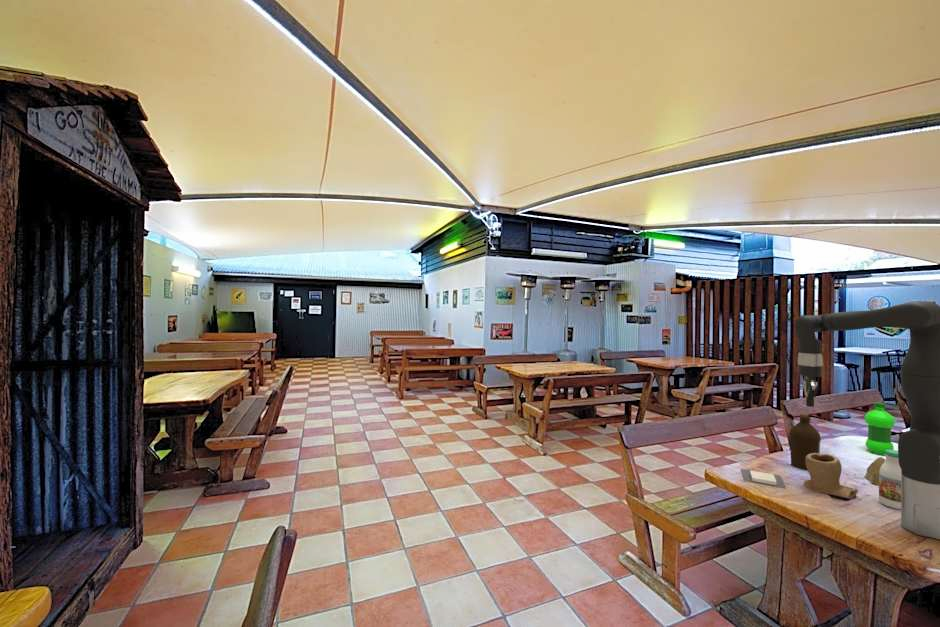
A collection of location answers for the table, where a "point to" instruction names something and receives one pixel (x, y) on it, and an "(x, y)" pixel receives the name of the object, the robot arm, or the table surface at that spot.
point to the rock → (874, 470)
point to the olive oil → (803, 441)
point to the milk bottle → (890, 480)
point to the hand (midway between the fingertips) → (809, 406)
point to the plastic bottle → (879, 429)
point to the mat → (747, 478)
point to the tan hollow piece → (826, 475)
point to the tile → (763, 478)
